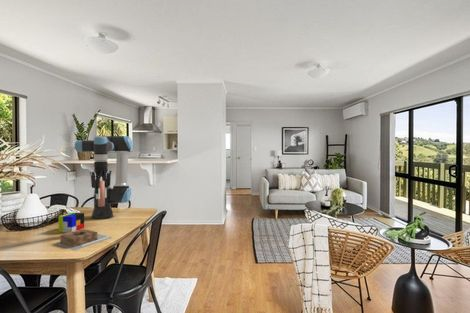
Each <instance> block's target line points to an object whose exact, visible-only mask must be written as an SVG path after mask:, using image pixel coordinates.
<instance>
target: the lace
mask: <svg viewBox="0 0 470 313" xmlns="http://www.w3.org/2000/svg"><path fill="white" fill-rule="evenodd" d="M109 237H110V236H108V237H105V238H102V239H99V240H96V241H93V242H90V243H87V244H84V245H81V246H85V245H88V244H91V243H94V242H97V241H100V240H103V239H106V238H109Z"/></svg>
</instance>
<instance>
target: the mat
mask: <svg viewBox="0 0 470 313" xmlns="http://www.w3.org/2000/svg"><path fill="white" fill-rule="evenodd" d="M105 237H109V238H106V239H103V240H100V241H97V242H94V243H91V244H88V245H85V246H81V245H80V246H77V247H72V246H68V245H65V244H61V243H60V241H59V242H54V243H53V245H54V246H59V247H62V248H66V249H69V250H72V251H78V250H80V249H83V248H86V247H90V246H92V245H95V244H98V243H101V242H104V241H107V240H110V239H112V238H113V237H112V236H109V235H108V236H107V235H104V234H98V233H97V239H98V240H99V239H102V238H105ZM95 241H96V240H95ZM92 242H93V241H92ZM89 243H90V242H89ZM86 244H87V243H86ZM83 245H84V244H83Z"/></svg>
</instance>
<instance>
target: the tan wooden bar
mask: <svg viewBox="0 0 470 313" xmlns="http://www.w3.org/2000/svg"><path fill="white" fill-rule="evenodd" d="M99 188H100V199H98V207H103V206H105V181H103V180H100V183H99Z"/></svg>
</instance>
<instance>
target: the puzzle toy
mask: <svg viewBox="0 0 470 313" xmlns="http://www.w3.org/2000/svg"><path fill="white" fill-rule="evenodd" d="M82 229H85V213H84V212H69V213H66V214H65V213H64V214H62V215H58V232H59V233H71V232H74V231H78V230H82Z"/></svg>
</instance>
